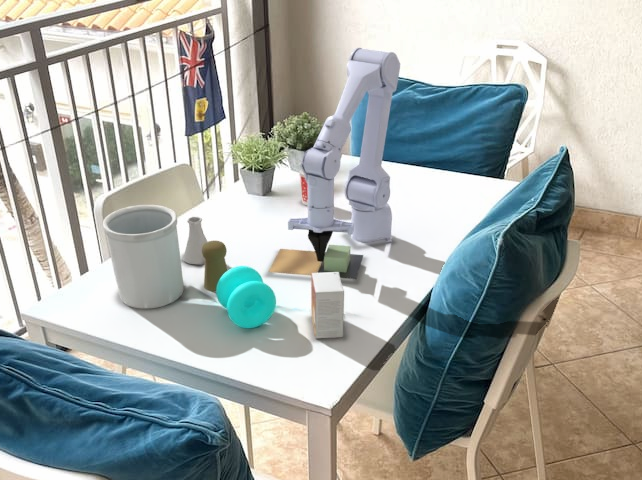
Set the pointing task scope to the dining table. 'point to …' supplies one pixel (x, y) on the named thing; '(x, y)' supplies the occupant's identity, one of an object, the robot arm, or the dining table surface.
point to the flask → (195, 242)
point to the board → (310, 263)
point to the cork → (214, 263)
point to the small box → (327, 304)
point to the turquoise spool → (246, 297)
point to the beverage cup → (304, 188)
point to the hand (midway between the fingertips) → (320, 259)
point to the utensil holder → (145, 255)
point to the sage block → (337, 258)
